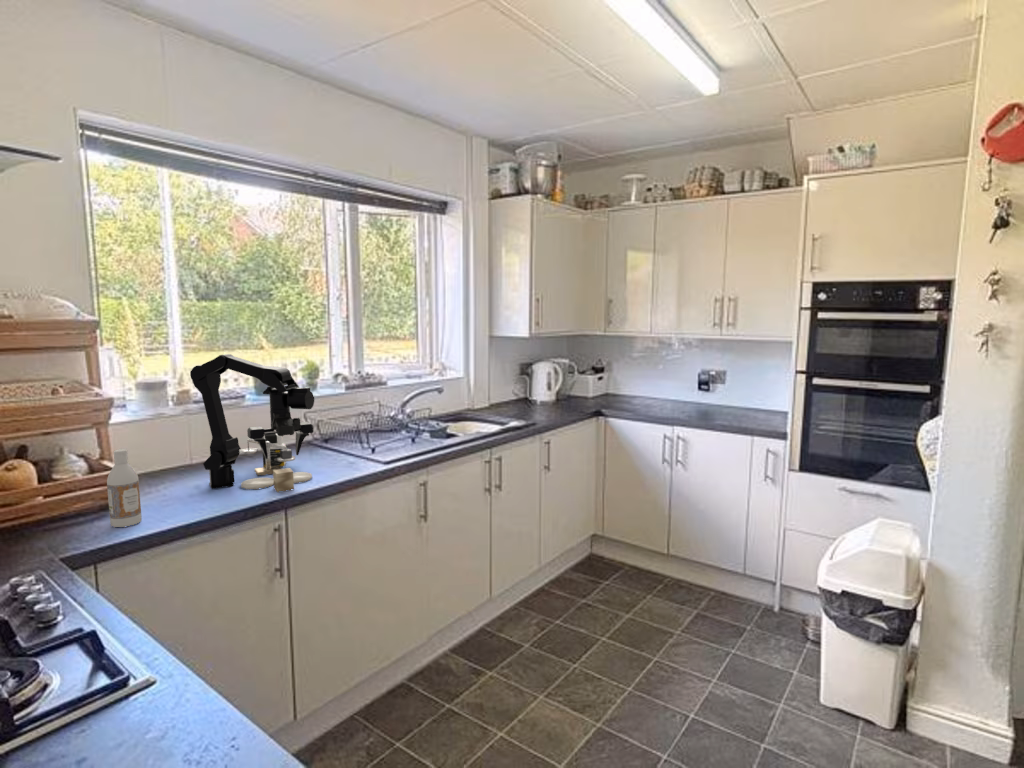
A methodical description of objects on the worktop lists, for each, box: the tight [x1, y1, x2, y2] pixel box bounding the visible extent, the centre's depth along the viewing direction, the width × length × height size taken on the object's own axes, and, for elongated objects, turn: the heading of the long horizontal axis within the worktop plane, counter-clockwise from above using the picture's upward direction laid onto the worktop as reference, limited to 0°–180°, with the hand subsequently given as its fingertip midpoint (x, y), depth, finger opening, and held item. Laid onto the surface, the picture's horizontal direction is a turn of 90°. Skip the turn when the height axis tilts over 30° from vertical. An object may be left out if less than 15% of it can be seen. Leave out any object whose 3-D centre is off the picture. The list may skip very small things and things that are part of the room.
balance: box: [239, 437, 296, 477], centre depth 204 cm, size 18×6×13 cm, turn 124°
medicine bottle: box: [262, 434, 287, 468], centre depth 214 cm, size 7×7×12 cm
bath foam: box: [106, 448, 143, 528], centre depth 154 cm, size 7×7×20 cm
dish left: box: [240, 477, 274, 490], centre depth 190 cm, size 10×10×1 cm
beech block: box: [272, 467, 295, 493], centre depth 185 cm, size 5×5×6 cm
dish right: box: [293, 471, 313, 484], centre depth 196 cm, size 10×10×1 cm
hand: (282, 456), depth 184 cm, fingers open, 9 cm apart
